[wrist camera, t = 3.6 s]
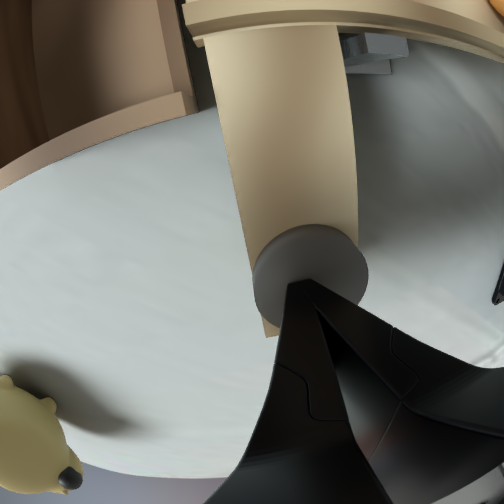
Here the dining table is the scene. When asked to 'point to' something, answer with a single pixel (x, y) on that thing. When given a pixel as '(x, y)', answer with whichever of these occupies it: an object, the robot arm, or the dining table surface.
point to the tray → (85, 76)
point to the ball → (498, 6)
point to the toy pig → (34, 445)
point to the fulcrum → (371, 52)
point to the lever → (308, 123)
